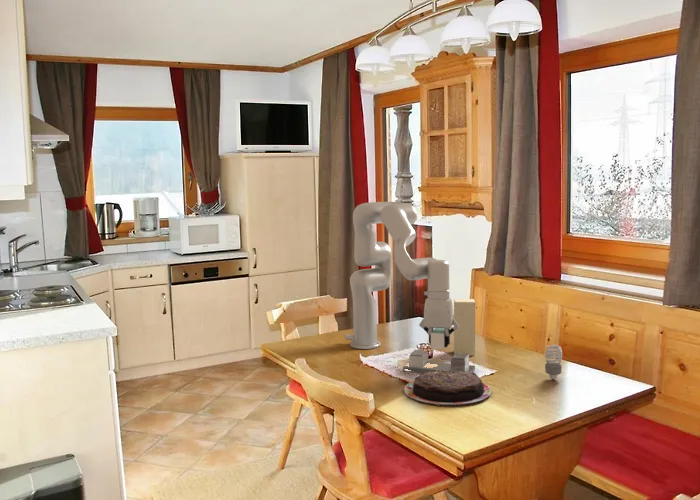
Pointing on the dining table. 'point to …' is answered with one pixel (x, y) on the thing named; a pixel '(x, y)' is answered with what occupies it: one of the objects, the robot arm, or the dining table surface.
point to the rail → (421, 359)
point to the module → (438, 338)
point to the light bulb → (553, 361)
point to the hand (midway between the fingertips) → (439, 345)
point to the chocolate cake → (448, 388)
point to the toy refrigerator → (464, 326)
